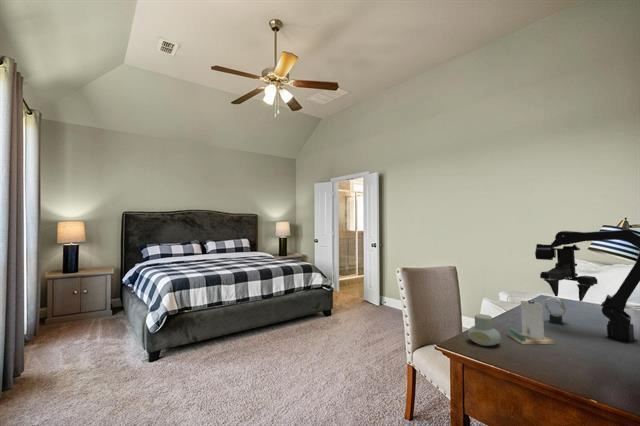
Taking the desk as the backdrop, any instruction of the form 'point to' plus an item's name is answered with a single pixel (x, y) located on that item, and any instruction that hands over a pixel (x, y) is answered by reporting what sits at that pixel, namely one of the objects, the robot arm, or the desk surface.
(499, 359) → the desk surface
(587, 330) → the desk surface
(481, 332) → the air freshener
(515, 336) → the stand
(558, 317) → the watch
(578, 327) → the desk surface
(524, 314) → the grey tall block
